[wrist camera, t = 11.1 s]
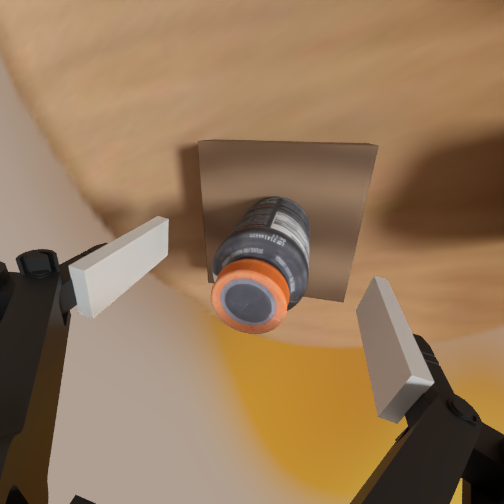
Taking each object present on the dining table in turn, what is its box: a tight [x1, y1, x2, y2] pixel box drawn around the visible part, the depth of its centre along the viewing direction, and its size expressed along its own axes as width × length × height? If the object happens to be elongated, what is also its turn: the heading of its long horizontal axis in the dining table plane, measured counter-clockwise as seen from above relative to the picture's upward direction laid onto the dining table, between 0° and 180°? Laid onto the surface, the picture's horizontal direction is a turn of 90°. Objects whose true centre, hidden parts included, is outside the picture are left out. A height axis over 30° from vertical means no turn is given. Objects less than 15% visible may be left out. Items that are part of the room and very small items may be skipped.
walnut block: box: [198, 140, 378, 302], centre depth 24 cm, size 14×14×4 cm
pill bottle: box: [211, 196, 310, 334], centre depth 17 cm, size 6×6×11 cm
